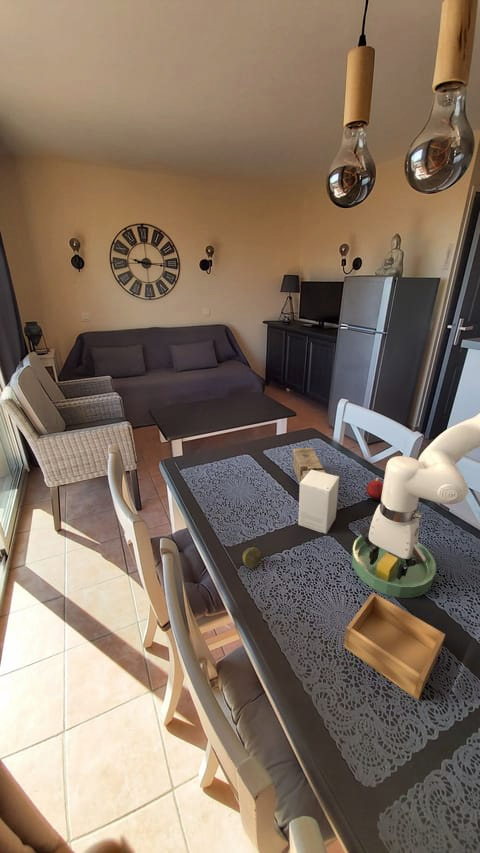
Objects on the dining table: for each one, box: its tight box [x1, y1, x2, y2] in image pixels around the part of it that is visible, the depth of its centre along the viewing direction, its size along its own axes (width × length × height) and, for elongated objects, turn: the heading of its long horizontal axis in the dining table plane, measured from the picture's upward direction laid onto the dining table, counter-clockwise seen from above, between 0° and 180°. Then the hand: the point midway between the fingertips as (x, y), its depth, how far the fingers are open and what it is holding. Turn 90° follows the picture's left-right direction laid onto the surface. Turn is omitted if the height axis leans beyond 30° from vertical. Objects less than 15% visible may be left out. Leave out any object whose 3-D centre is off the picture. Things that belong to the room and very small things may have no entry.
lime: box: [242, 547, 262, 570], centre depth 93 cm, size 4×5×5 cm
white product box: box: [297, 469, 340, 534], centre depth 106 cm, size 9×9×15 cm
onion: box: [365, 477, 384, 501], centre depth 117 cm, size 6×6×8 cm
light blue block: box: [388, 551, 401, 568], centre depth 93 cm, size 3×5×4 cm, turn 136°
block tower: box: [292, 447, 326, 485], centre depth 124 cm, size 8×8×29 cm
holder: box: [343, 592, 446, 701], centre depth 71 cm, size 15×12×6 cm
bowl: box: [351, 534, 437, 599], centre depth 91 cm, size 19×19×4 cm
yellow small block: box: [376, 553, 398, 582], centre depth 89 cm, size 3×5×4 cm, turn 136°
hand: (386, 568), depth 89 cm, fingers open, 6 cm apart
